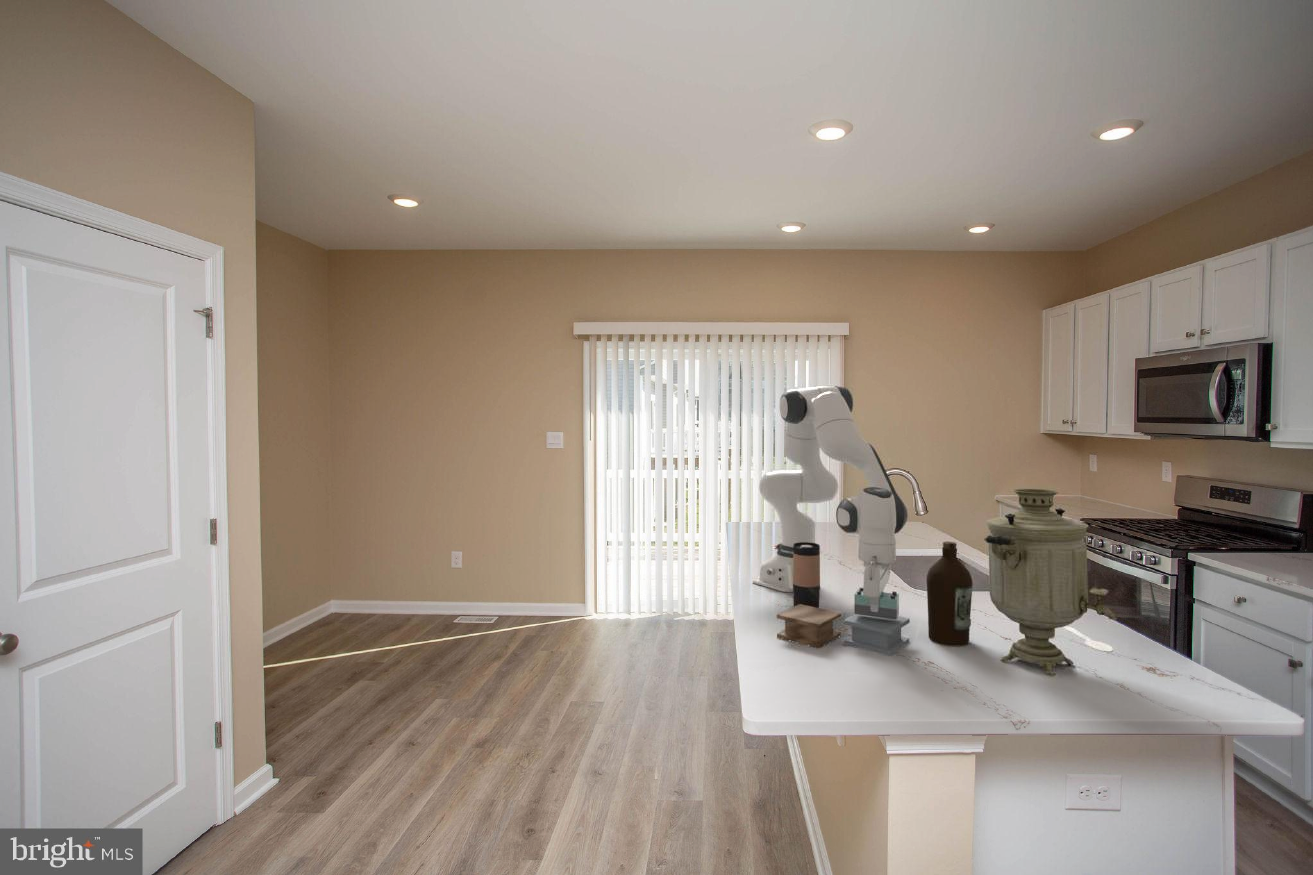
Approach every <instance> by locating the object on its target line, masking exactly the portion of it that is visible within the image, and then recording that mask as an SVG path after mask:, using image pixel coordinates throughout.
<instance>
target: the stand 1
mask: <svg viewBox="0 0 1313 875" xmlns="http://www.w3.org/2000/svg"><path fill="white" fill-rule="evenodd" d="M841 617H842V612H838V611H834V610H830V609H824V608H820V607H819V608H816V607H811V606H807V605H802V604H799V605H797V606H794V605H793V606H792V607H790V608H788V609H786V610H784V611H781V612H780V613H777V614H776V619H778V620H783V621H784V629H783V630H781V631H779V632H777V633H776V638H777V639H781V638H783V639H782V640H785V641H788V640H791V641H790V642H792V641H794V642H793V643H796V642H798V643H797V644H800V645H804V646H807V645H809V646H808V647H812V648H815V647H816V648H815V649H819V648H820V649H822V648H823V647H825V646H826V645H828V644H829V642H830V643H831V642H833V641H835V640H836V638H837V639H838V638H840V637H841V636H842V631H838V630H834V621H836V620H838V619H840V618H841ZM839 636H840V637H839ZM824 645H825V646H824Z"/></svg>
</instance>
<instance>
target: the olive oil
mask: <svg viewBox="0 0 1313 875" xmlns="http://www.w3.org/2000/svg"><path fill="white" fill-rule="evenodd" d="M941 548H942V549H941V550H942V551H941V555H942V556H941V557H940V559H938V560H937V561H936V562H935V563H934V564H932V565H931V567H930V568H929V569H928V571H927V573H926V574H927V575H926V597H927V620H928V621H927V625H928V626H927V628H928V630H927V631H928V639H929V640H930V641H932V642H935V643H936V644H938V645H939V644H940V645H943V646H949V647H964V646H966V645H968V644H969V643H970V632H971V631H970V630H971V629H970V628H971V625H972V619H971V611H972V597H973V578H972V576H971V572H970V571H969V570H968V569H967V568H966V567H965V565H964V564H963V563H962V562H961V560H959V559H958V556H957V555H958V548H957V542H954V541H942V547H941Z"/></svg>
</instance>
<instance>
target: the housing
mask: <svg viewBox="0 0 1313 875" xmlns="http://www.w3.org/2000/svg"><path fill="white" fill-rule="evenodd" d="M891 592H892V593H891ZM891 592H884V591H883V592H882V594H881V596H880V598H879V610H878V612H872V611H871V604H870V599H868V598H864V595H863V587H859V589H857V590H856V592H855V593H854V598H853V599H854V600H853V602H854V604H853V605H854V607H853V608H854V609H853V610H854V612H853V613H854V614H859V615H866V616H873V617H881V618H888V619H895V620H897V617H898V616H899V615H900V594H899V593H897V591H891ZM854 614H853V615H854Z"/></svg>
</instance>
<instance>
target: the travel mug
mask: <svg viewBox="0 0 1313 875" xmlns="http://www.w3.org/2000/svg"><path fill="white" fill-rule="evenodd" d="M820 592H821V547H820V544H818V543H816V542H815V543H809V542H799V543H795V544H794V545H793V592H792V595H793V596H792V599H793V607H794V606H797V605H799V604H802V605H807V606H811V607H816V608H820V597H821V596H820V594H821V593H820Z"/></svg>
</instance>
